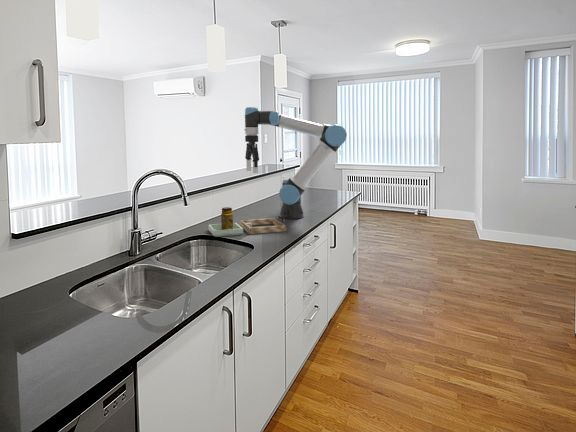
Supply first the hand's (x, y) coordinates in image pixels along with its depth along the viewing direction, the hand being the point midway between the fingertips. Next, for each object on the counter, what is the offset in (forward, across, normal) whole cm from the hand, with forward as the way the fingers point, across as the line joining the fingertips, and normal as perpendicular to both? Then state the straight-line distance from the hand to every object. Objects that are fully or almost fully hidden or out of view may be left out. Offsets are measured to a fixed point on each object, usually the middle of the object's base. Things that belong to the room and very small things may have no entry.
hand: (252, 172), depth 237 cm
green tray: (+29, +25, -22) cm, 44 cm away
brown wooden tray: (+29, +23, -1) cm, 37 cm away
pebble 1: (+29, +18, -8) cm, 35 cm away
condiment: (+28, +25, -22) cm, 44 cm away
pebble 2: (+29, +28, +6) cm, 41 cm away
